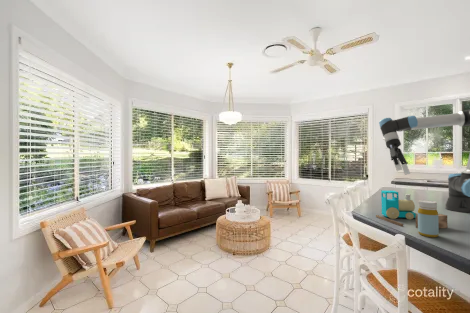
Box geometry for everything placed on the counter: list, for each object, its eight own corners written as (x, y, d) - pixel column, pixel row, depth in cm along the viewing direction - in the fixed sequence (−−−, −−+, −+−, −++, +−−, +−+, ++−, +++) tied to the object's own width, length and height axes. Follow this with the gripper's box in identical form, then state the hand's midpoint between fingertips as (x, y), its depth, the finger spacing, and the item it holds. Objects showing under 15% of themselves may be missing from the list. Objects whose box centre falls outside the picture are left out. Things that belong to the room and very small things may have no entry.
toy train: (420, 220, 126) (420, 192, 126) (386, 218, 130) (386, 192, 130) (413, 216, 134) (412, 190, 134) (381, 215, 138) (380, 190, 138)
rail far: (377, 217, 134) (377, 214, 134) (403, 226, 116) (403, 223, 116) (375, 217, 134) (375, 215, 134) (401, 226, 116) (401, 224, 116)
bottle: (414, 232, 106) (413, 200, 106) (428, 232, 107) (427, 199, 107) (428, 238, 99) (427, 203, 99) (443, 237, 100) (442, 202, 100)
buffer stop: (438, 225, 117) (438, 213, 117) (447, 227, 112) (447, 215, 112) (412, 226, 115) (412, 214, 115) (421, 229, 111) (420, 216, 111)
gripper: (393, 147, 156) (403, 177, 148) (377, 137, 142) (388, 170, 133) (405, 143, 151) (417, 173, 142) (391, 132, 136) (403, 166, 128)
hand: (403, 172), depth 138 cm, fingers open, 13 cm apart
